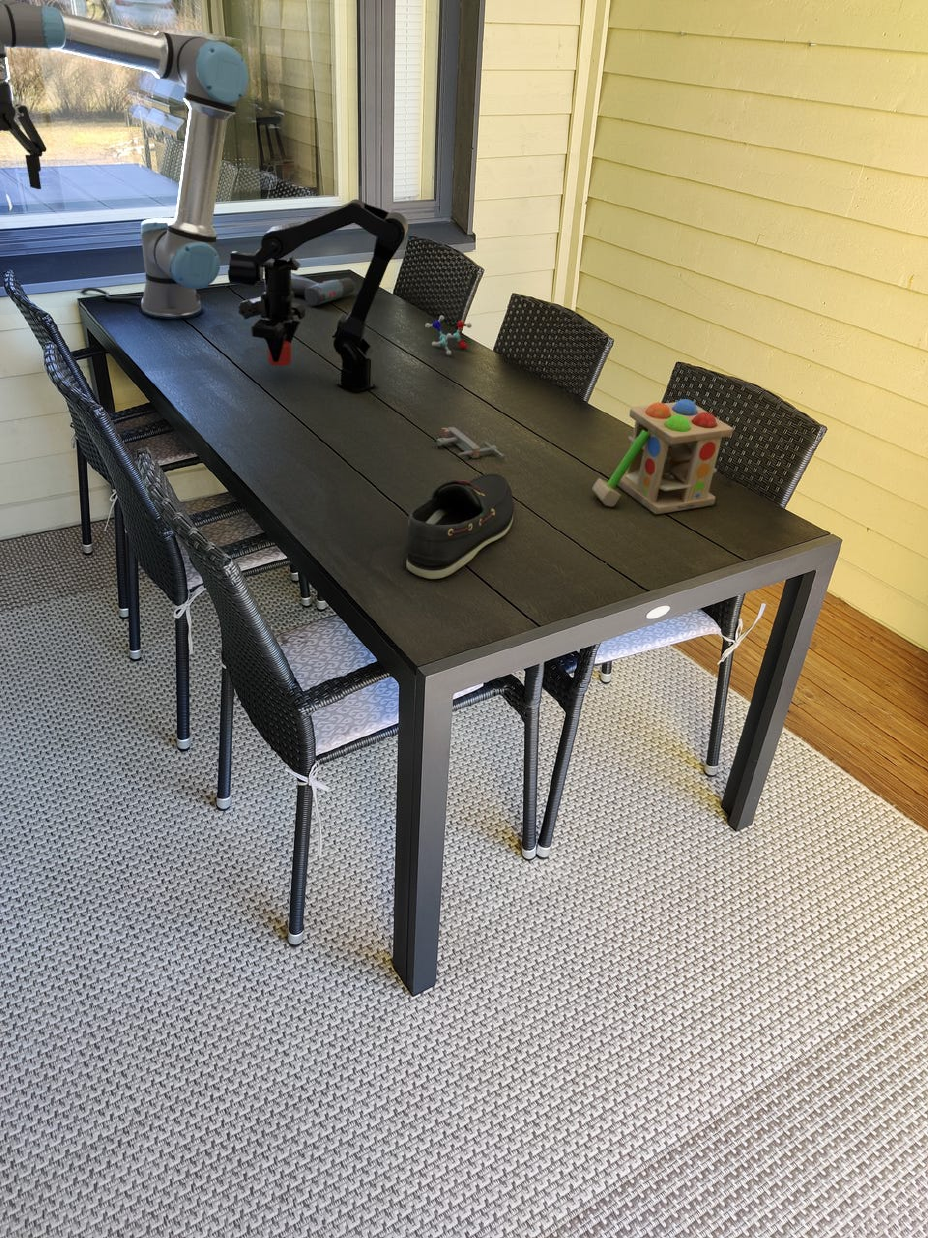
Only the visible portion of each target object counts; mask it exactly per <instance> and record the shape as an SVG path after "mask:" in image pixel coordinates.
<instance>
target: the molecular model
mask: <svg viewBox="0 0 928 1238" xmlns="http://www.w3.org/2000/svg"><path fill="white" fill-rule="evenodd" d="M444 320H445V316H444V315H440V316H439V318H438V320H436V321H434V322H433V323H430V322H429V323H428V322H427V323H425V325H424V326H425V328H426V329H430V327H434V329H437V331H438V333H439V340H438V341H432V342H431V346H432V347H433V348H434V347H436V348H440V347H443V348H445V351H446V352H445V353H446V355H447V356H450V355H452V351H451V350H450V349H449V347H448V344H449V343H448V342H449V339H453V340H455V341H457V343H458V345H459V346H460V349H461V350H466V349H467V343H465V342H464V341H463V340H462V339H461V334H460V332H461V329H463V327H466V328H468V329H471V328H472V323H471V322H468V323H464V322H463V321H461V320H459V321H458V322H457V330H456V332H455V333H453V334H452V333H450V332H449V333H447V334H444V333H443V331H442V330H441V328H440V327H441V322H442V321H444Z"/></svg>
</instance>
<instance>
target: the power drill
mask: <svg viewBox="0 0 928 1238" xmlns="http://www.w3.org/2000/svg"><path fill="white" fill-rule="evenodd" d="M355 286H356V284H355V281H354V280H353V279H352V278H350V277H344V278H341V279H339V278H338V279H330V280H324V281H322V282H317V281H314V280H312V279H309V278H307V277H305V276H302V275H300V274H296V273H293V272H291V291H292V292H294V295H299V296H304V299H305V301H306V303H307V304H308V305H310V306H312V307H313V306H319V305H322V304H326V303H328V302H332V301H334V300H338V299H339V298H341V297H343V296H345V295H348V294H351V293H353V292H354V290H355V288H356V287H355Z"/></svg>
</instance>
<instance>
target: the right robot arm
mask: <svg viewBox="0 0 928 1238" xmlns="http://www.w3.org/2000/svg"><path fill="white" fill-rule="evenodd" d="M352 224H355V225H357V226H359V227H360V228H361V229H364V230H365V231H366V232H367V233H369V234H371V235H373V236H374V237H375V242H374V249H373V253H372V258H371V260H370V263H369V266H368V268H367V270H366V273H365V276H364V277H363V280H362V283H361V285H360V288H359V290H358V293H357V296H356V298H355V301H354V303H353V305H352V309H351V311H350V312H349V314H348V315H347V314H345V313H344V312H343V313H341V315H340V317H339V319H338V321H337V326H336V329H335V330H334V332H333V334H332V336H331V338H332V339H333V345H332V346H333V348H334V350H335V352H336V353H337V355H339V356H340V358H341V368H340V381H338V382H337V383H336V385H337V386H339V387H341V388H343V389H346V390H348V391H350V392H352V393H355V394H357V393H358V394H359V393H361V392H363V391H367V390H371V389H373V388H376V384H375V383H373V382H371V381H372V380H371V379H372V377H371V376H372V358H370V355H371V352H372V349H373V346H372V345H371V344H370V343H369V342H368V341H367V339H365V338H364V335H365V331H366V325H367V318H368V315H369V313H370V310H371V307H372V305H373V302H374V300H375V298H376V296H377V293H378V290H379V288H380V286H381V282H382V280H383V278H384V276H385V273H386V271H387V268H388V265H389V263H390V262H391V260H392V259H393V257H394V256H395V255H396V253H397V251H398V249H399V248H400V247H401V245H402V243H403V242H404V240H405V238H406V236H407V234H408V229H409V223H408V221H407V219H406V217H405V215H403V214H402V213H400V212H398V211H391V212H389V211H387V210H385V209H383V208H380V207H377V206H374V205H372V204H368V203H366V202H364V201H362V200H360V199H357V198H355V199H352V200H350V201H349V202H348V203H345V204H342V205H340V206H338V207H335V208H332V209H330V210H327V211H325V212H322V213H319V214H318V215H315V216H313V217H309V218H307V219H305V220H303V221H298V222H288V223H282V224H277V225H273V226H272V227H270V228H269V229H268V230H267V232H265V233H264V235H263V236H262V237H261V241H260V246H261V247H260V248H259V249H257V251H256V252H255V253H250V252H249V253H247V252H241V251H237V250H233V251H231V252H230V256H229V257H230V259H229V264H228V270H227V278H228V282H229V284H230V285H236V286H247V287H258V286H259V283H262V282H263V280H264V292H263V293H262V294H261V295H260V296H259V297H254V298H250V299H245V300H242V301H240V303H239V306H238V314H239V315H241V316H242V317H243V319H244V320H248V319H250V318H253V317H258V316H260V319H259V320H258V321H256V322H255V323H254V324H253V325H252V326H251V328H250V329H251V336H252V337H253V338H259V339H264V340H265V343H266V344H267V348H268V347H269V350H270V353H271V356H272V359H273V361H274V362H278V361H279V358H280V355H281V352H282V349H283V346H284V342H285V341H288V342H289V343H290V344H291V345H292V343H293V339H294V337H295V334H296V332H297V330H298V328H299V326H300V324H301V321H300V320H303V319H304V318H305V317H306V308H305V306H303V304H302V303H298V302H292V301H293V300H292V299H293V298H294V297H295V294H294V292H292V291H291V273H292V271H298V270H299V268H300V267H301V263H300V262H299V261H298V260H297V259H296V258H295V256H293V255H291V256H290V257H289V259H285V258H284V257H286V256H287V255H289V254H290V253H292V252H294V251H295V250H296V249H298V248H299V247H301V246H302V245H304V244H305V243H307V242H309V241H312V240H315V239H317V238H319V237H322V236H324V235H327V234H329V233H330V234H331V233H333V232H335V231H337V230H340V229H342V228H344V227H348V226H350V225H352ZM269 260H273V261H269ZM294 316H297V318H298V320H295V317H294Z"/></svg>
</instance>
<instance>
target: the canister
mask: <svg viewBox="0 0 928 1238" xmlns="http://www.w3.org/2000/svg"><path fill="white" fill-rule="evenodd" d="M291 345H292V343H291V344H290V343H289V342H288V341H285V342H284V346H283V349H282V352H281V355H280V358H279V361H278V362H274V361H273V359H272V356H271V353H270V350H269V347H268V346H267V358H268V359H267V361H268V363H269V364H270V365H271V366H277V367H284V366H288V365H290V364H291V363H292V349H291Z"/></svg>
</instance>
